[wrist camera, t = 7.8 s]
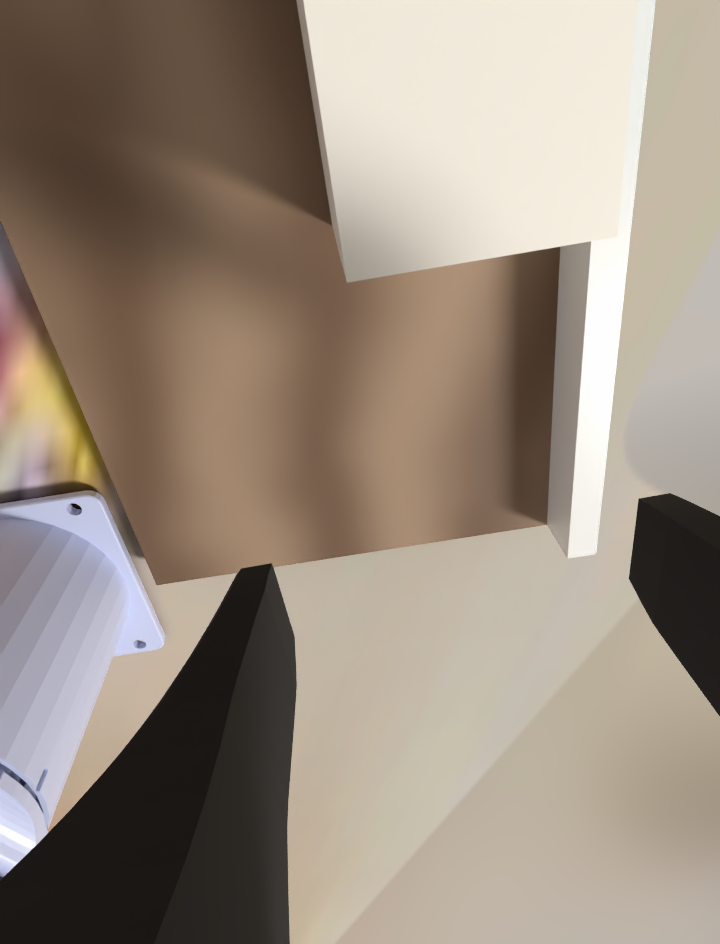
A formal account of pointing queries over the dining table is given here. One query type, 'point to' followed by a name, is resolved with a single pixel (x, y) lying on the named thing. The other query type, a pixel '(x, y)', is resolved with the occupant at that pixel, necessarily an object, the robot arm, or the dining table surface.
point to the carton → (468, 125)
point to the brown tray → (284, 305)
